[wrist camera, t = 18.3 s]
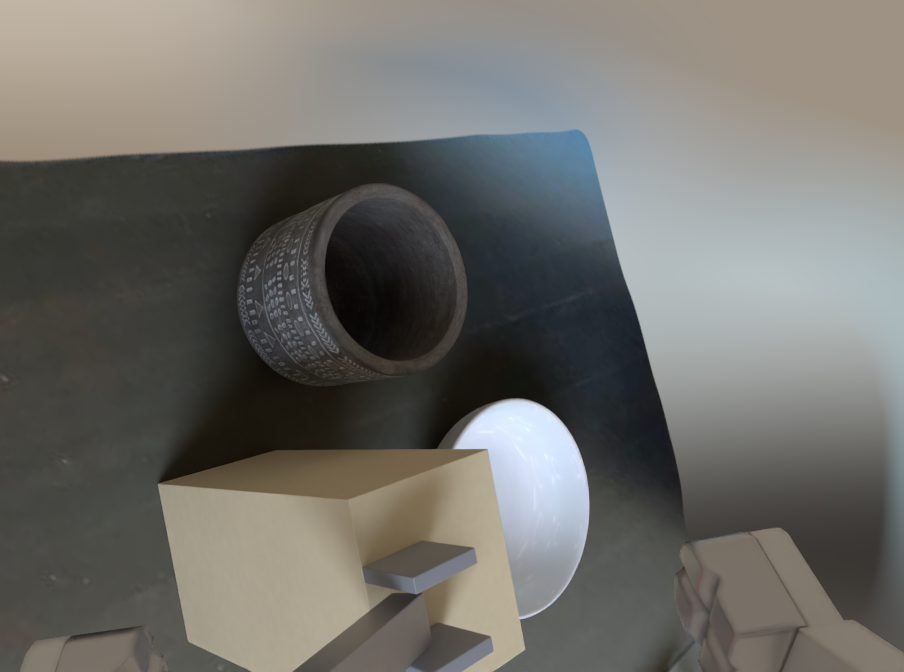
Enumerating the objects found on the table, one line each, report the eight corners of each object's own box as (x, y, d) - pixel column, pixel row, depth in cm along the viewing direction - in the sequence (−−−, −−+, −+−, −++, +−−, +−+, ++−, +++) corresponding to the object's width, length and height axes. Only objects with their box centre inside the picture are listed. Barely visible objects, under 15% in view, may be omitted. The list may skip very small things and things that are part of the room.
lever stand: (187, 641, 54) (448, 764, 33) (157, 483, 54) (399, 503, 33) (303, 590, 61) (580, 664, 40) (276, 450, 61) (540, 448, 39)
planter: (379, 355, 69) (491, 336, 58) (252, 417, 59) (357, 409, 49) (326, 211, 67) (431, 164, 56) (186, 252, 57) (280, 205, 46)
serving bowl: (439, 364, 74) (486, 358, 69) (559, 455, 85) (608, 455, 80) (361, 564, 65) (409, 573, 60) (507, 637, 76) (558, 650, 71)
